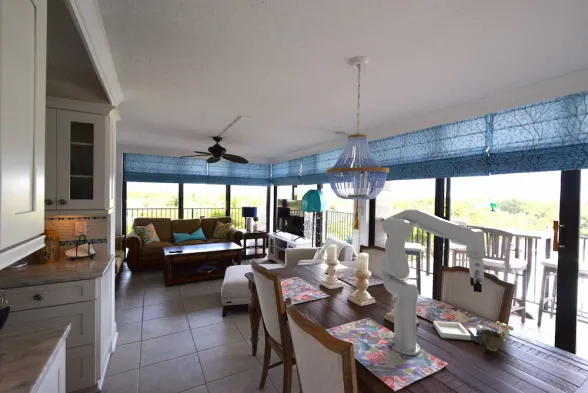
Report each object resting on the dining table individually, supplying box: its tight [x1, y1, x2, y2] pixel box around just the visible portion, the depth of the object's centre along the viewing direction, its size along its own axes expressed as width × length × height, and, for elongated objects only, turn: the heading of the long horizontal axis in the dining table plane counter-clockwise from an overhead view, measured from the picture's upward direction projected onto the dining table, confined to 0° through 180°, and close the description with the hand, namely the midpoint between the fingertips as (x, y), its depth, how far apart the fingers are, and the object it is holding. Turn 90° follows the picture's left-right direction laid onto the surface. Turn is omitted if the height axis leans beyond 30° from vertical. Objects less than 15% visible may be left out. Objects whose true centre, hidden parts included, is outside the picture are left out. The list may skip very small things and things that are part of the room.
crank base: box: [467, 327, 484, 344], centre depth 130 cm, size 8×8×3 cm
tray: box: [432, 320, 472, 341], centre depth 137 cm, size 13×13×2 cm
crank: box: [475, 321, 514, 342], centre depth 125 cm, size 15×4×8 cm, turn 29°
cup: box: [482, 328, 502, 353], centre depth 121 cm, size 8×7×8 cm
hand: (475, 288), depth 132 cm, fingers open, 9 cm apart
